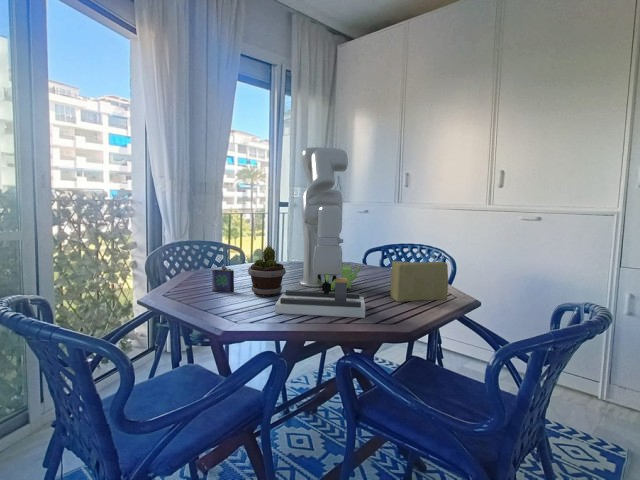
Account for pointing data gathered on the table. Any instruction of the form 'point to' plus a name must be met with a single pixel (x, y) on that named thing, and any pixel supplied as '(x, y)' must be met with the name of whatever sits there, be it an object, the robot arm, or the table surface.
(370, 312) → the table surface
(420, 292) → the cheese
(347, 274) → the kettle
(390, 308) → the table surface
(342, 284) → the block
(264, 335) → the table surface
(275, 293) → the flowerpot
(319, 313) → the breaker panel
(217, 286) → the flask
